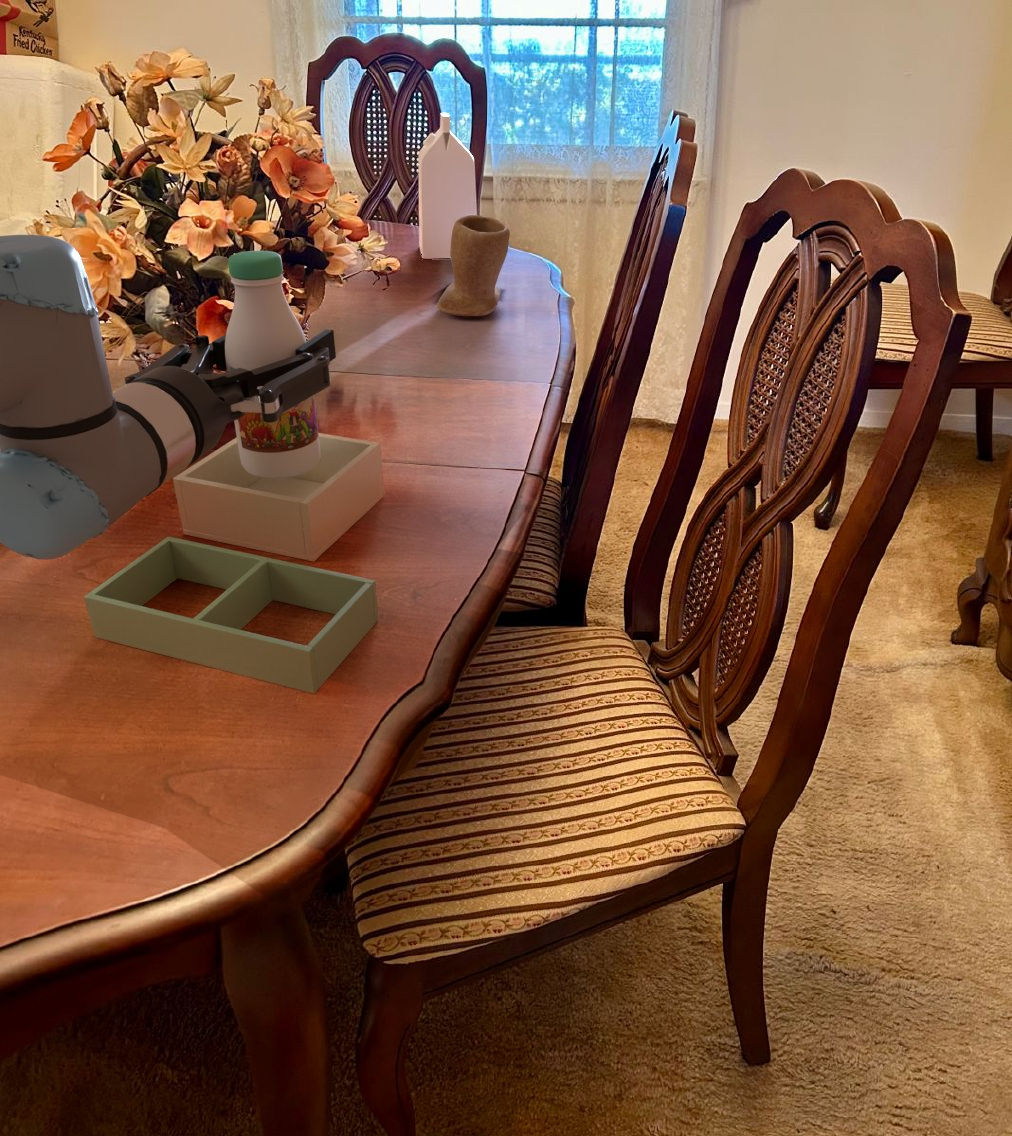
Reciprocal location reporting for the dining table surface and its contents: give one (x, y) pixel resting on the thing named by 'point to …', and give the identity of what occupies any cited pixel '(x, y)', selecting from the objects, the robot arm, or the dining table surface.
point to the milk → (443, 189)
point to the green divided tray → (234, 612)
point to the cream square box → (281, 499)
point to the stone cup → (475, 266)
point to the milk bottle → (259, 340)
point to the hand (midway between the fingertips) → (291, 339)
